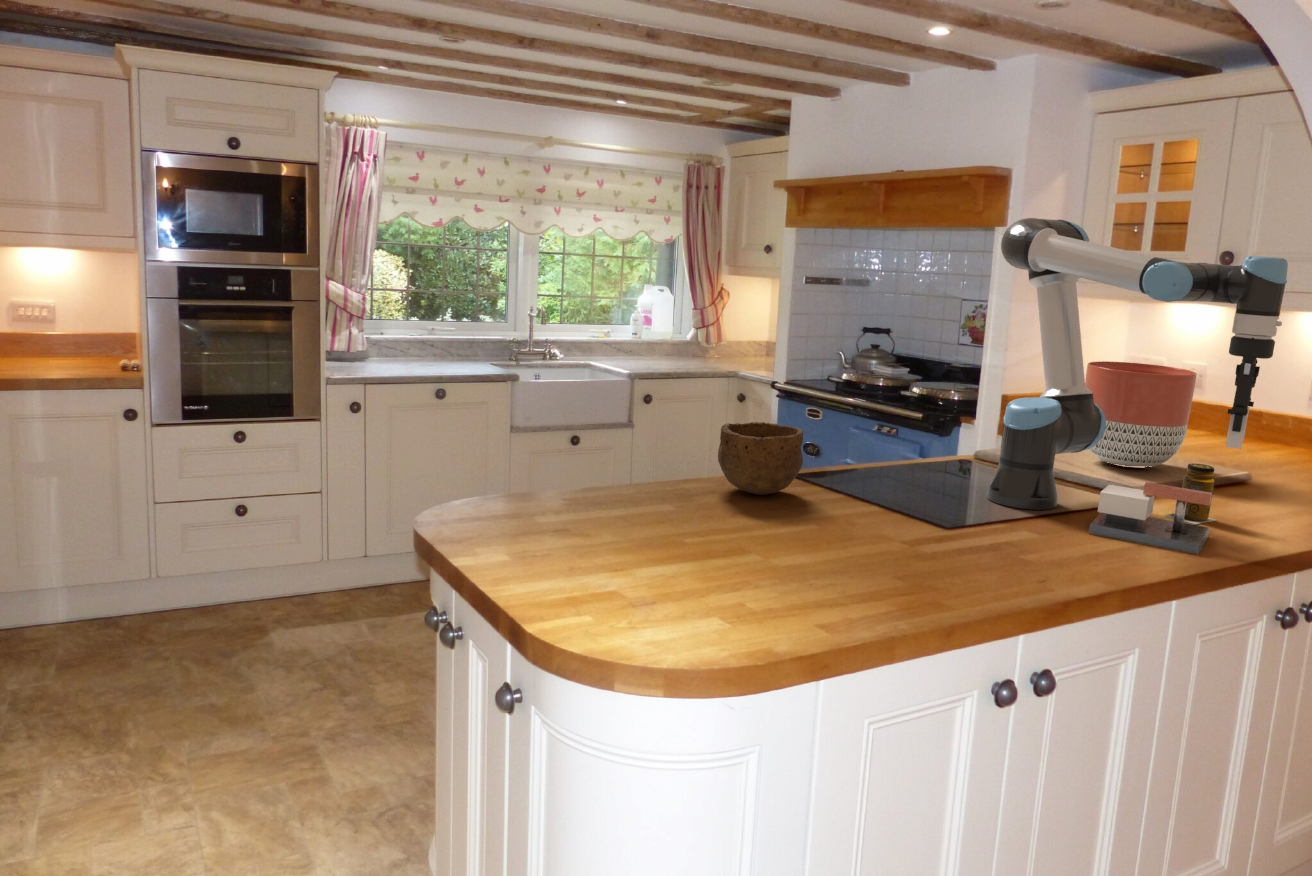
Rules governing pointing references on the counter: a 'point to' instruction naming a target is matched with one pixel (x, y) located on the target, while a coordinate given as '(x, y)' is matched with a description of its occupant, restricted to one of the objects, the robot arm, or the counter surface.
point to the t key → (1178, 499)
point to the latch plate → (1151, 532)
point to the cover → (1125, 502)
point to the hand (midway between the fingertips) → (1234, 442)
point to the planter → (1140, 410)
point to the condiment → (1202, 481)
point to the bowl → (760, 456)
